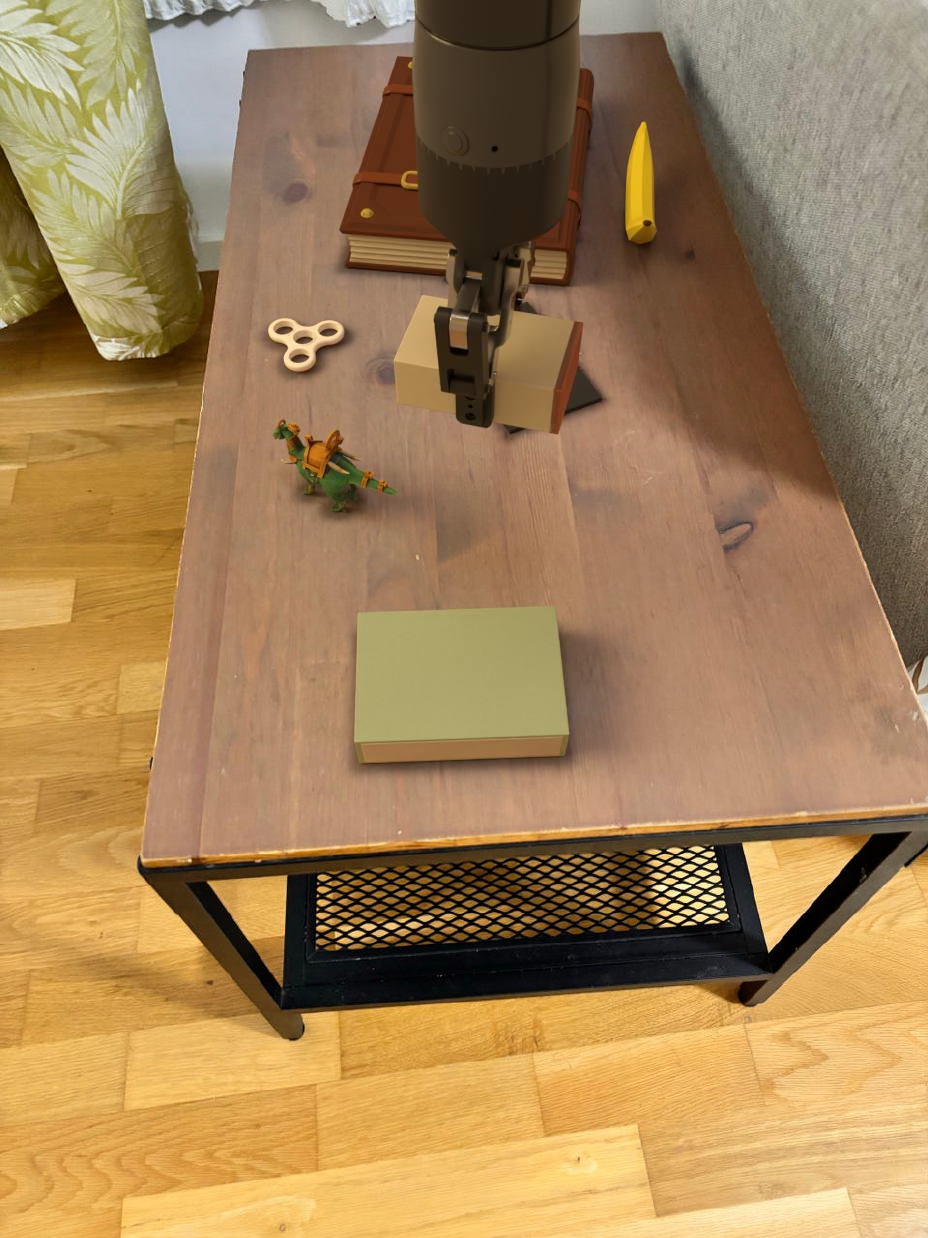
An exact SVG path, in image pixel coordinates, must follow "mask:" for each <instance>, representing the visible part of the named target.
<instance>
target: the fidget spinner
mask: <svg viewBox="0 0 928 1238" xmlns="http://www.w3.org/2000/svg"><path fill="white" fill-rule="evenodd" d="M282 327H289V328H291V329H292V330H291V331H290V332H288V333H285V334H279V333H277V332H276V331H277V330H278V329H280V328H282ZM327 329H332V330H335V331H337V332H336V333H335V334H333V335H330V336H325V335H322V334H320V333H322V331H324V330H327ZM267 331H268V336H269V337H270V339H271V340H272V341H274V342H276V343H280V344H283V345H285V346H286V347H287V350H286V352H285V353H284V356H283V363H284V365H285V366H286V368H287V369H288V370H291V371H293V372H304V371H307V370H310V369H311V368H312V367H313V366H314V365H315V364H316V361H317V355H316V352H317V351H318V350H319V349H320V348H322V347H324V346H330V345H335V344H337V343H339V342H341V341H342V340H343V338H344V336H345V328H344V326H343V324H341V323H340V322H339V321H336V320H332V319H329V320H323V321H320V322H318V323H316V324H314V325H311V326H305V325H301V324H300V323H298V322H297V321H296V320H295V319H292V318H289V317H288V318H286V317H283V318H278V319H275V320H274V321H272V322H271V323H270V324H269V326H268V328H267ZM304 337H305V338H311V339H312V340H311V341H310V342H306V343H297V340H299V339H301V338H304ZM298 355H305V356H307V357H308V359H306V360H305V361H303V362H295V361H292V358H294V357H295V356H298Z"/></svg>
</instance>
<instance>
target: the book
mask: <svg viewBox="0 0 928 1238" xmlns="http://www.w3.org/2000/svg"><path fill="white" fill-rule="evenodd" d="M594 91H595V77H594V74H593V72H592V69H590V68H587V67H580V76H579V88H578V98H577V108H576V119H575V129H574V139H573V149H572V160H571V170H570V180H569V191H568V200H567V206H566V209H565V212H564V214H563V216H562V218H561V219H560V221H559V222H558V223H557V224H556V225H555V226H554V227H553V228H552V229H551V230H550V231H549V232H547V233H546V234H544V235H543V236H541V237H539V238H537V239H536V245H535V256H534V257H535V258H536V261H535V266H533V268H532V272H531V276H530V281H529V283H539V284H549V285H566V284H567V283H568V282H569V280H570V279H571V278H572V275H573V272H574V265H575V256H576V248H577V238H578V232H579V231H580V228H581V225H582V216H583V201H582V195H583V185H584V178H585V169H586V161H587V152H588V145H589V144H588V143H589V140H590V137H591V134H592V128H593V110H592V107H593V99H594ZM381 98H382V99H381V103H380V107H379V109H378V112H377V115H376V118H375V121H374V124H373V127H372V130H371V133H370V136H369V139H368V142H367V145H366V148H365V151H364V154H363V156H362V160H361V163H360V165H359V169H358V171H357V173H355V175H354V177H353V180H352V183H351V187H352V190H351V193H350V196H349V200H348V201H347V204H346V207H345V211H344V214H343V217H342V219H341V223H340V226H339V232H340V233H341V234H343V235H347V240H348V241H349V249H348V253H347V256H346V259H345V262H344V267H348V268H359V269H372V270H385V271H394V272H395V271H396V272H407V273H408V272H409V273H417V274H419V273H420V274H429V275H430V274H433V275H444V276H446V268H447V258H448V253H449V250H450V247H451V246H452V247H454V246H453V244H452V243H451V242H450V241H449V240H448V239H447V238H445V237H444V236H443V235H442V234H441V233H439V232H438V231H437V230H435V229H434V228H433V227H432V226H431V225H430V224H429V223H428V221H427V220H426V219H425V217H424V215H423V213H422V211H421V208H420V205H419V198H418V178H417V159H416V140H415V121H414V102H413V83H412V56H403V55H397V56H396V58H395V62H394V65H393V67H392V70H391V73H390V76H389V79H388V82H387V86H384V88H383V91H382V93H381Z"/></svg>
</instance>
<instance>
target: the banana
mask: <svg viewBox="0 0 928 1238" xmlns="http://www.w3.org/2000/svg"><path fill="white" fill-rule="evenodd" d="M632 143H633V144H632V146H631V150H630V154H629V158H628V163H627V169H626V180H625V181H626V182H625V211H624V212H625V216H624V217H625V220H624V221H625V231H626V234H627V238H628V241H631V242H632V243H635V244H638V245H641V244H642V245H643V244H645V243H649V242H652V241H653V239H654V237H655V236H656V234H657V232H658V230H657V226H656V221H655V219H656V218H655V174H654V173H655V172H654V163H653V162H654V161H653V154H652V153H653V152H652V148H651V142H650V136H649V130H648V126H647V122H646V121H642V122H641V123H640V126H639V127H638V129H637V131H636V134H635V136H634V140H633V142H632Z"/></svg>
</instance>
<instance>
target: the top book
mask: <svg viewBox="0 0 928 1238" xmlns="http://www.w3.org/2000/svg"><path fill="white" fill-rule="evenodd" d="M447 305H448V298H443V297H438V296H433V295H426V294H422V295H421V297H420V300H419V302H418V303H417V306H416V309H415V310H414V313H413V315H412V318H411V319H410V322H409V324H408V326H407V329H406V331H405V333H404V335H403V338H402V340H401V343H400V345H399V347H398V349H397V352H396V354H395V356H394V359H393V367H394V368H393V369H394V380H395V381H394V382H395V391H396V401H397V404H398V405H401V406H408V407H412V408H418V409H423V410H429V411H435V412H439V413H444V414H449V415H454V416H456V402H455V394H451V393H445V392H441V387H440V377H439V367H438V357H437V347H436V338H435V327H434V321H433V320H434V315H435V313H436V311H437V309H438V307H439V306H442V307H447ZM487 318H488V322H489V325H493V326H497V325H499V319H500V315H496V316H487ZM583 329H584V322H583V321H579V320H570V319H565V318H559V317H553V316H548V315H542V314H537V315H536V314H531V313H525V312H519V311H514V312H513V319H512V327H511V334H510V337H509V338H508V340H507V341H506V342H505V343H504V345H502V346H501V347H500V349H499V356H498V364H497V371H498V376H497V380H495V402H494V418H493V421H492V423H496V424H501V425H504V424H506V425H512V426H517V427H522V428H524V429H528V430H532V431H533V430H534V431H538V432H544V433H548V434H553V435H557V436H558V435H559V433H560V429H561V426H562V423H563V419H564V416H565V414H564V413H565V409H566V406H567V402H568V399H569V395H570V392H571V388H572V385H573V382H574V378H575V375H576V371H577V368H578V367H579V360H580V353H581V352H580V351H581V346H582V345H581V344H582V337H583Z"/></svg>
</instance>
